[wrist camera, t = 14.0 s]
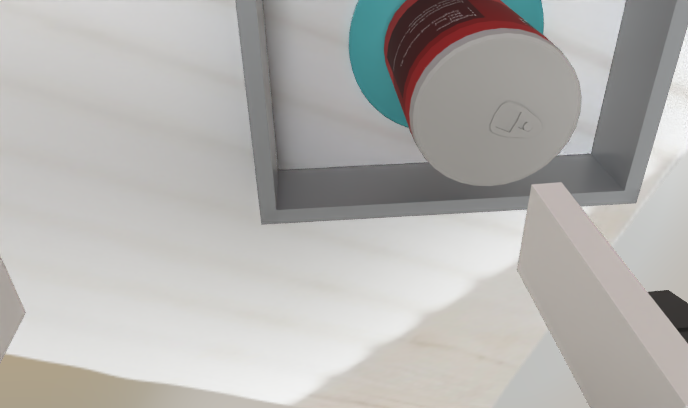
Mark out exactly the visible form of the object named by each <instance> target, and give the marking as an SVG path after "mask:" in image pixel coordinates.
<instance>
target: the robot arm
mask: <svg viewBox="0 0 688 408" xmlns="http://www.w3.org/2000/svg"><path fill="white" fill-rule="evenodd" d="M517 271H518V273H519V275H520V277H521V278H522V280H523V282H524V284H525V286H526V288H527V290H528V292H529V293H530V295H531V297H532V299H533V301H534V303H535V305H536V307H537V308H538V310H539V312H540V314H541V316H542V318H543V320H544V322H545V323H546V325H547V327H548V329H549V331H550V333H551V334H552V337H553V338H554V340H555V342H556V344H557V346H558V348H559V350H560V351H561V353H562V355H563V357H564V359H565V361H566V363H567V365H568V366H569V369H570V370H571V372H572V374H573V376H574V378H575V380H576V382H577V384H578V385H579V387H580V389H581V391H582V393H583V395H584V397H585V399H586V400H587V402H588V404H589V406H590V408H688V303H687V302H685V301H684V300H682V299H681V298H679V297H678V296H676V295H675V294H673V293H672V292H670V291H669V290H664V291H654V292H647V291H646V290H645V288H644V287H643V286H642V284H641V283H640V282H639V281H638V279H637V278H636V277H635V276H634V274H633V273H632V272H631V271H630V269H629V268H628V267H627V265H626V264H625V263H624V261H623V260H622V259H621V258H620V257H619V255H618V254H617V253H616V251H615V250H614V249H613V247H612V246H611V245H610V244H609V242H608V241H607V240H606V238H605V237H604V236H603V235H602V233H601V232H600V231H599V230H598V228H597V227H596V226H595V224H594V223H593V222H592V221H591V219H590V218H589V217H588V215H587V214H586V213H585V212H584V210H583V209H582V208H581V207H580V205H579V204H578V203H577V201H576V200H575V199H574V198H573V196H572V195H571V194H570V192H569V191H568V190H567V189H566V187H565V186H564V185H563V184H562V182H557V183H544V184H532V185H531V191H530V197H529V202H528V208H527V214H526V220H525V226H524V232H523V237H522V243H521V249H520V255H519V261H518V267H517ZM25 313H26V312H25V310H24V308H23V305H22V303H21V301H20V299H19V296H18V294H17V292H16V290H15V287H14V285H13V283H12V281H11V278H10V276H9V274H8V272H7V270H6V267H5V265H4V263H3V261H2V258H1V256H0V363H1V360H2V359H3V357H4V355H5V353H6V351H7V349H8V347H9V345H10V343H11V341H12V339H13V337H14V335H15V333H16V331H17V329H18V327H19V325H20V323H21V321H22V319H23V317H24V315H25Z"/></svg>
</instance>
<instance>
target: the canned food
mask: <svg viewBox="0 0 688 408" xmlns="http://www.w3.org/2000/svg"><path fill="white" fill-rule="evenodd" d="M384 55H385V63H386V66H387V69H388V72H389V75H390V77H391V80H392V83H393V85H394V88H395V91H396V94H397V96H398V99H399V102H400V104H401V107H402V110H403V113H404V115H405V118H406V121H407V123H408V126H409V129H410V132H411V134H412V136H413V138H414V141H415V143H416V145H417V146H418V148H419V150H420V151H421V153H422V154H423V156H424V157H425V159H426V160H427V161H428V162H429V163H430V164H431V165H432V166H433V167H434V168H435V169H436V170H437V171H439V172H440V173H442V174H443V175H445V176H446V177H448V178H451V179H453V180H455V181H458V182H460V183H465V184H470V185H474V186H494V185H502V184H507V183H511V182H514V181H518V180H521V179H523V178H525V177H527V176H529V175H531V174H533V173H535V172H537V171H538V170H540V169H541V168H543V167H544V166H546V165H547V164H548V163H549V162H550V161H551V160H553V159H554V158H555V157H556V156H557V155H558V154H559V153H560V152H561V150H562V149H563V148H564V146H565V145H566V144H567V142H568V141H569V139H570V137H571V135H572V133H573V132H574V130H575V128H576V125H577V121H578V118H579V115H580V108H581V91H580V84H579V81H578V78H577V76H576V73H575V71H574V68H573V67H572V66H571V64H570V63H569V61H568V60H567V58H566V57H565V56H564V54H563V53H562V52H561V51H560V50H559V49H558V48H557V47H556V46H555V45H554V44H553V43H552V42H550V41H549V40H548V39H547V38H546V37H545V36H544V35H542V34H541V33H540V32H539V31H538V30H536V29H535V28H534V27H533V26H531V25H530V24H529V23H528V22H527V21H525V20H524V19H523V18H522V17H520V16H519V15H518V14H517V13H515V12H514V11H513V10H512V9H511V8H509V7H508V6H507V5H506V4H504V3H503V2H502V1H501V0H406V1H405V2H404V3H403V4H402V5H401V6H400V8H399V9H398V10H397V11H396V13H395V14H394V16H393V18H392V20H391V22H390V23H389V26H388V29H387V32H386V36H385V43H384Z"/></svg>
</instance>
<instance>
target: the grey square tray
mask: <svg viewBox="0 0 688 408" xmlns="http://www.w3.org/2000/svg"><path fill="white" fill-rule="evenodd" d="M405 1H406V0H359V1H358V3H357V5H356V8H355V11H354V14H353V17H352V21H351V27H350V32H349V54H350V61H351V65H352V70H353V73H354V76H355V78H356V81H357V83H358V85H359V87H360V89H361V91H362V93H363V94H364V95H365V97H366V98H367V99H368V101H369V102H370V103H371V104H372V105H373V106H374V107H375V108H376V109H377V110H378V111H379V112H380V113H382V114H383V115H384V116H385V117H387V118H389V119H390V120H392V121H394V122H396V123H398V124H400V125H403V126H405V127H409V126H408V123H407V121H406V118H405V115H404V113H403V110H402V107H401V104H400V102H399V99H398V96H397V94H396V91H395V88H394V85H393V83H392V80H391V77H390V75H389V72H388V69H387V66H386V63H385V55H384V43H385V36H386V32H387V29H388V26H389V23H390V22H391V20H392V18H393V16H394V14H395V13H396V11H397V10H398V9H399V8H400V6H401V5H402V4H403V3H404V2H405ZM501 1H502V2H503V3H504V4H506V5H507V6H508V7H509V8H511V9H512V10H513V11H514V12H515V13H517V14H518V15H519V16H520V17H522V18H523V19H524V20H525V21H527V22H528V23H529V24H530V25H531V26H533V27H534V28H535V29H536V30H538V31H539V32H540V33H541V34H542V35H543V27H544V22H543V9H542V3H541V0H501ZM236 9H237V18H238V26H239V35H240V43H241V52H242V60H243V69H244V78H245V86H246V95H247V103H248V112H249V120H250V129H251V138H252V146H253V155H254V163H255V172H256V181H257V189H258V198H259V206H260V215H261V223H262V224H278V223H296V222H313V221H331V220H349V219H366V218H384V217H402V216H419V215H437V214H454V213H472V212H490V211H507V210H525V209H527V208H528V202H529V197H530V191H531V185H532V184H544V183H557V182H562V184H563V185H564V186H565V187H566V189H567V190H568V191H569V192H570V194H571V195H572V196H573V198H574V199H575V200H576V201H577V203H578V204H579V205H580V206H595V205H613V204H631V203H636V202H637V198H638V195H639V192H640V188H641V185H642V181H643V178H644V174H645V171H646V167H647V164H648V161H649V157H650V154H651V150H652V147H653V143H654V140H655V137H656V133H657V130H658V126H659V123H660V119H661V116H662V112H663V109H664V106H665V102H666V99H667V95H668V92H669V88H670V85H671V82H672V78H673V75H674V71H675V68H676V64H677V61H678V58H679V54H680V51H681V47H682V44H683V40H684V37H685V33H686V30H687V27H688V0H627V1H626V5H625V9H624V14H623V18H622V23H621V27H620V31H619V36H618V40H617V44H616V49H615V53H614V57H613V62H612V66H611V70H610V75H609V79H608V83H607V88H606V92H605V96H604V101H603V105H602V109H601V114H600V118H599V122H598V127H597V131H596V135H595V140H594V144H593V148H592V153H591V154H584V155H565V156H556V157H555V158H554V159H553V160H551V161H550V162H549V163H548V164H547V165H546V166H544V167H543V168H541V169H540V170H538V171H537V172H535V173H533V174H531V175H529V176H527V177H525V178H523V179H521V180H518V181H514V182H511V183H507V184H502V185H494V186H474V185H470V184H465V183H460V182H458V181H455V180H453V179H451V178H448V177H446V176H445V175H443V174H442V173H440V172H439V171H437V170H436V169H435V168H434V167H433V166H432V165H431V164H430V163H413V164H394V165H375V166H356V167H337V168H317V169H298V170H279V171H278V162H277V151H276V140H275V130H274V119H273V108H272V97H271V86H270V75H269V65H268V54H267V43H266V32H265V21H264V11H263V0H236Z"/></svg>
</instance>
